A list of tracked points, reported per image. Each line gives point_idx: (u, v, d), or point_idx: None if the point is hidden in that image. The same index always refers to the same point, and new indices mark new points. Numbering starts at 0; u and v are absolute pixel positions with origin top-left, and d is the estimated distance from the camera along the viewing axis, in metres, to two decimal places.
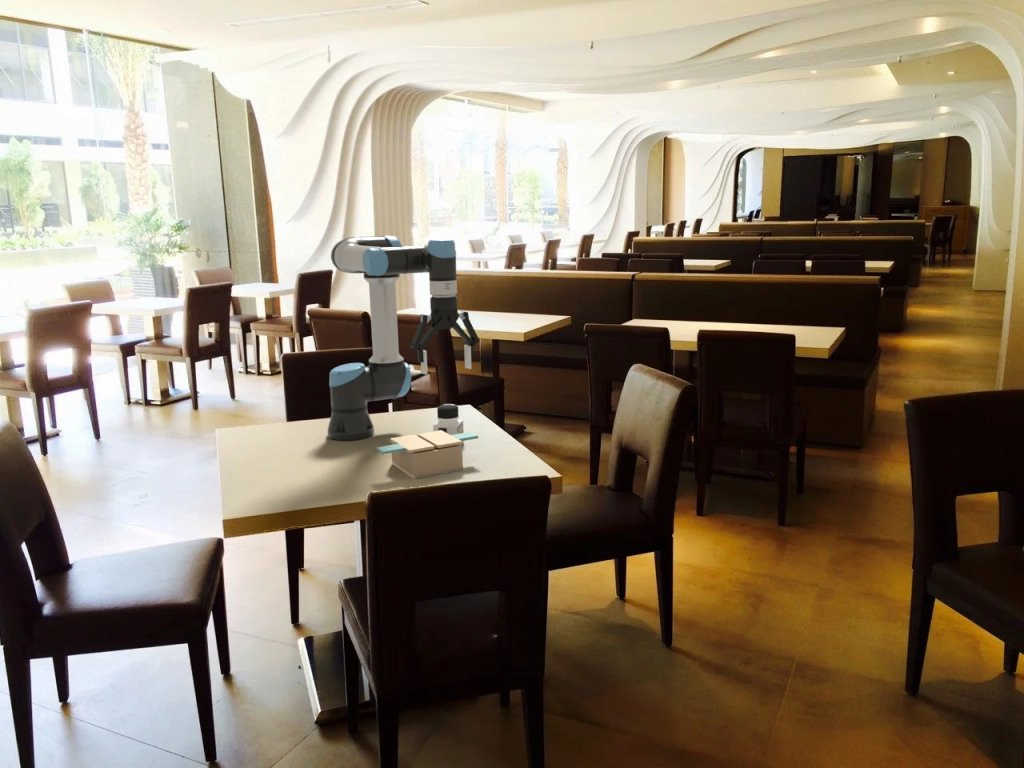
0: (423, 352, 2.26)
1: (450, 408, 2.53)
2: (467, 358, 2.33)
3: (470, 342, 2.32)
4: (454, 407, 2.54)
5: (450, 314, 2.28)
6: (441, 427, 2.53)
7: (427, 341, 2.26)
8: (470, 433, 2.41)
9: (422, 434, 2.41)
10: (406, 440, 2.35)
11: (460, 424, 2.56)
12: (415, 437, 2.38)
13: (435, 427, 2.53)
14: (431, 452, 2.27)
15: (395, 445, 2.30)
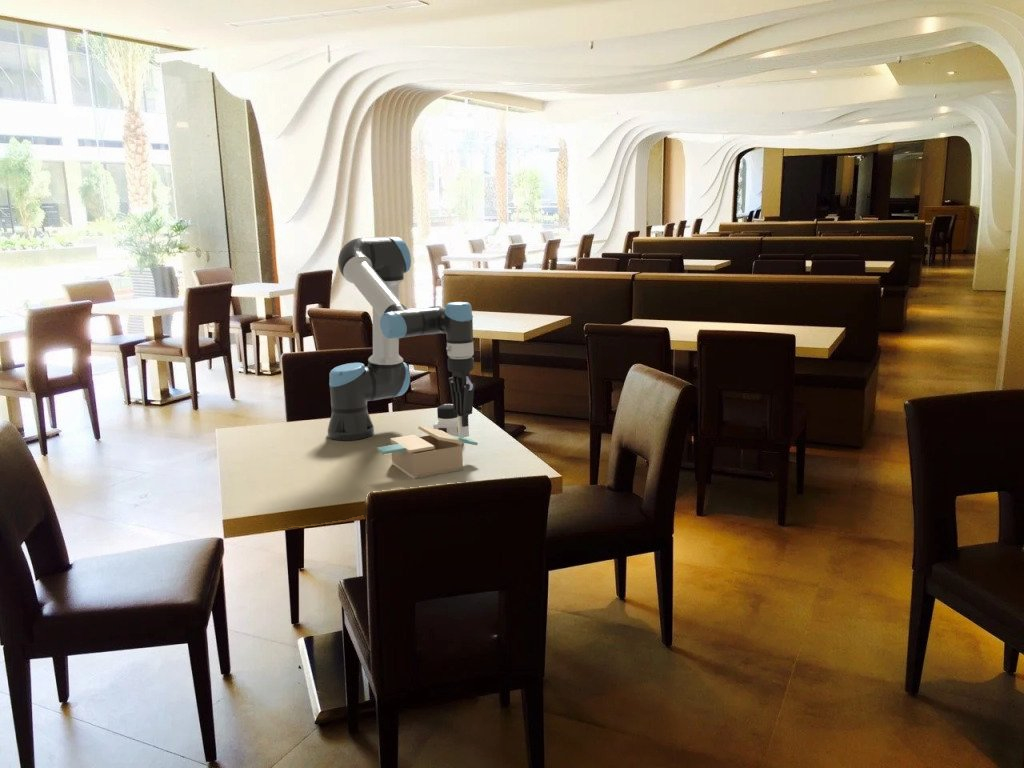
0: None
1: (450, 408, 2.53)
2: None
3: (460, 411, 2.35)
4: None
5: (460, 372, 2.32)
6: (441, 427, 2.53)
7: (456, 403, 2.37)
8: (470, 439, 2.41)
9: (423, 427, 2.41)
10: (406, 440, 2.35)
11: None
12: (415, 437, 2.38)
13: (435, 427, 2.53)
14: (431, 452, 2.27)
15: (395, 445, 2.30)
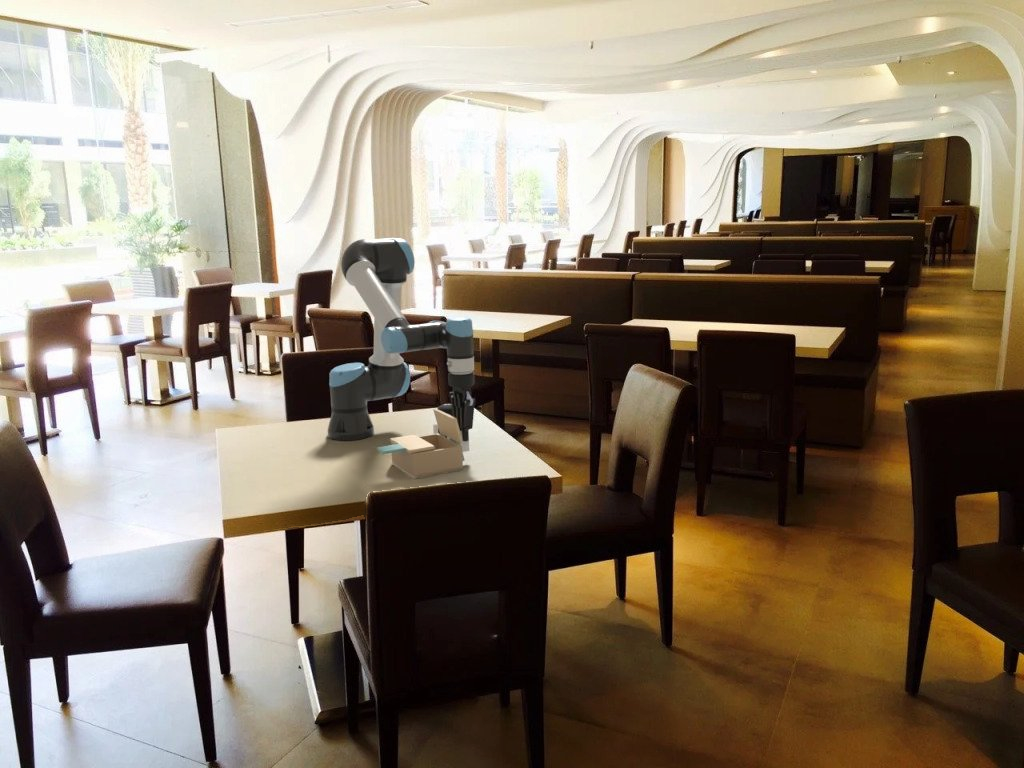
0: None
1: (450, 408, 2.53)
2: None
3: (461, 426, 2.36)
4: None
5: (461, 388, 2.33)
6: None
7: (457, 418, 2.38)
8: None
9: None
10: (406, 440, 2.35)
11: None
12: (415, 437, 2.38)
13: (435, 427, 2.53)
14: (431, 452, 2.27)
15: (395, 445, 2.30)
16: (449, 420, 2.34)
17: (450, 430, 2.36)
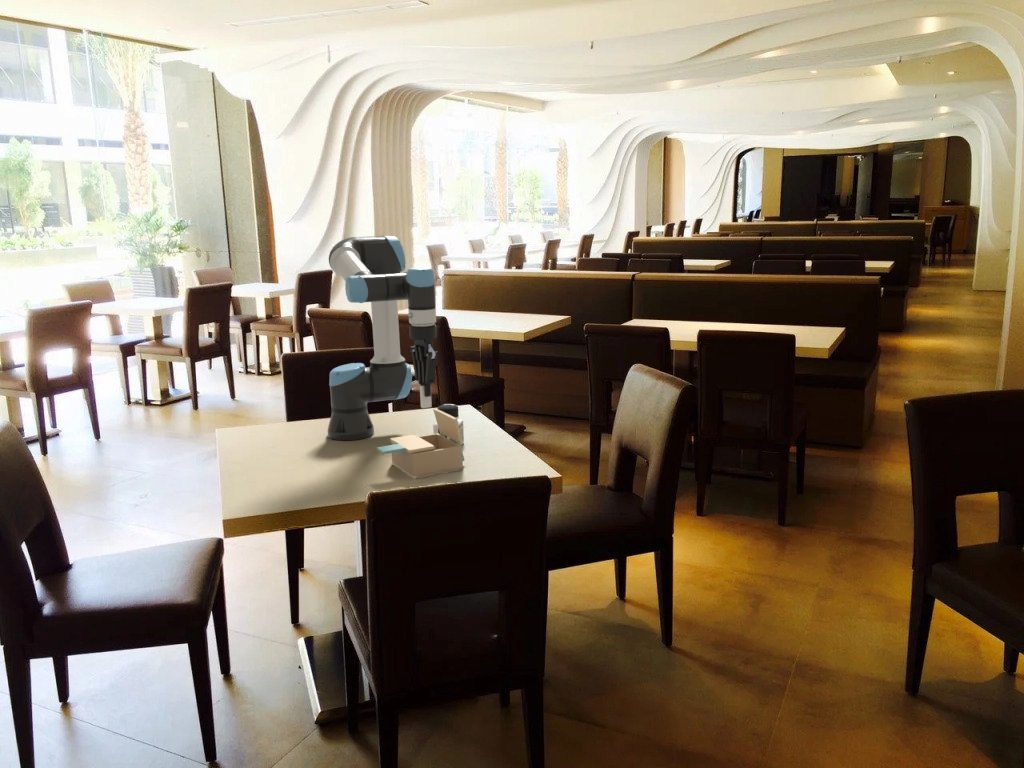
0: None
1: (450, 408, 2.53)
2: None
3: (422, 381, 2.28)
4: (454, 407, 2.54)
5: (422, 340, 2.25)
6: None
7: (419, 372, 2.30)
8: None
9: None
10: (406, 440, 2.35)
11: (460, 424, 2.56)
12: (415, 437, 2.38)
13: (435, 427, 2.53)
14: (431, 452, 2.27)
15: (395, 445, 2.30)
16: (449, 420, 2.34)
17: (450, 430, 2.36)
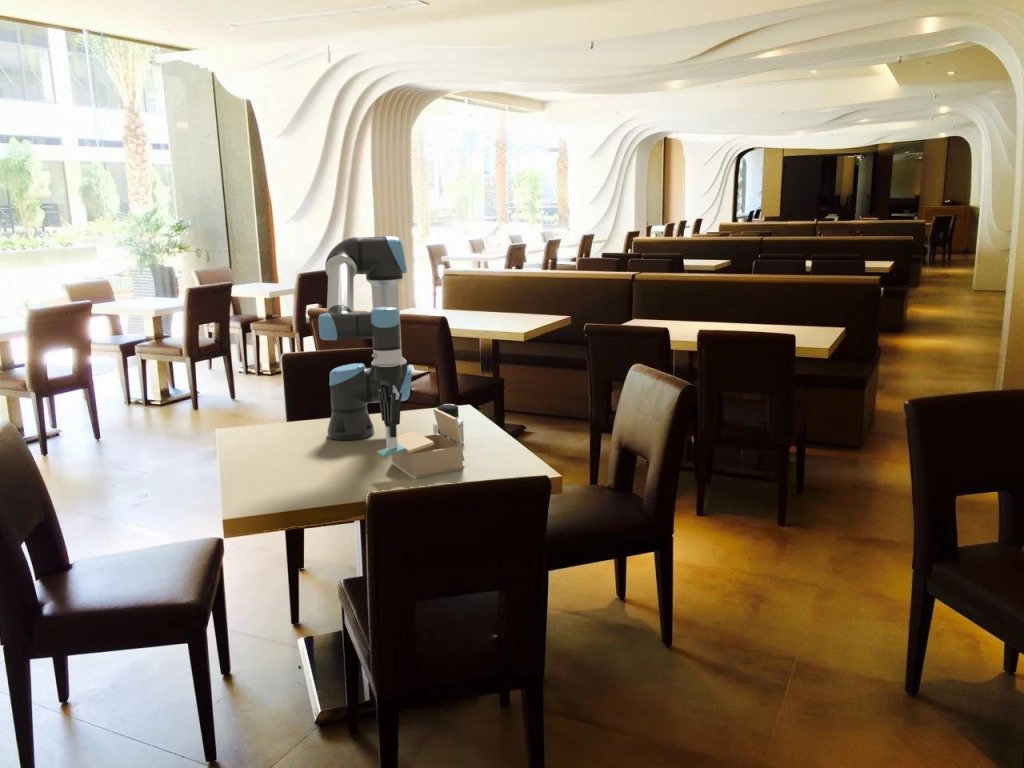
0: None
1: (450, 408, 2.53)
2: None
3: (388, 421, 2.25)
4: (454, 407, 2.54)
5: (387, 381, 2.22)
6: None
7: (384, 413, 2.26)
8: None
9: None
10: (406, 438, 2.35)
11: (460, 424, 2.56)
12: (415, 433, 2.37)
13: (435, 427, 2.53)
14: (431, 452, 2.27)
15: None
16: (449, 420, 2.34)
17: (450, 430, 2.36)
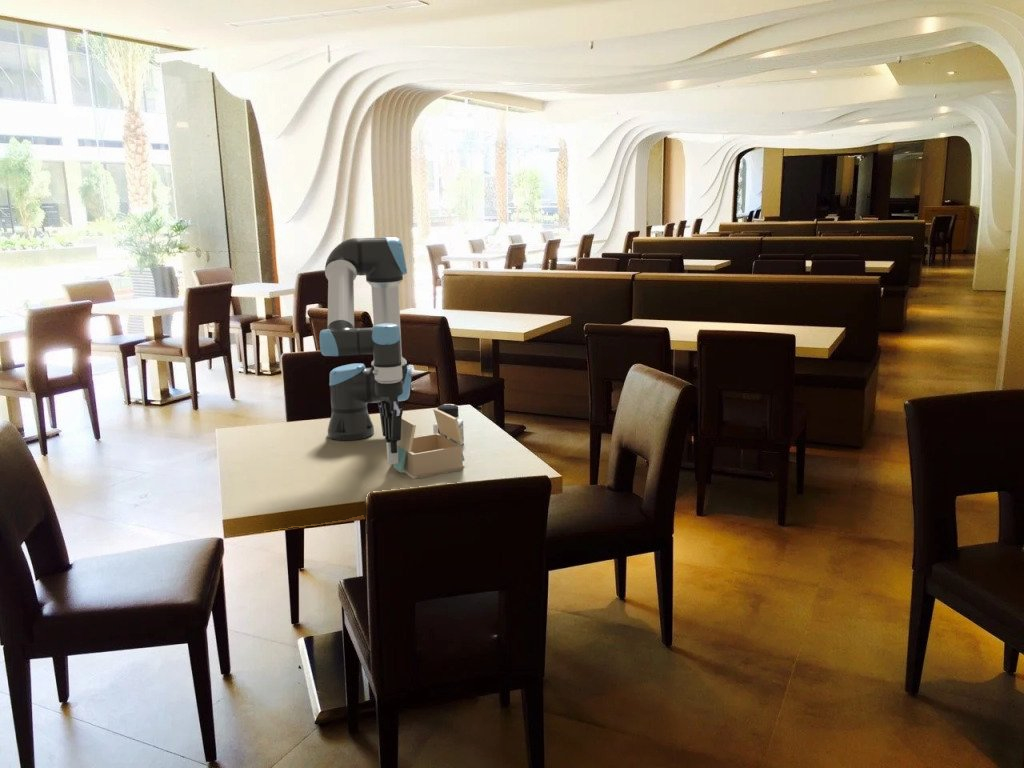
0: None
1: (450, 408, 2.53)
2: None
3: (388, 437, 2.26)
4: (454, 407, 2.54)
5: (388, 397, 2.23)
6: None
7: (385, 429, 2.27)
8: None
9: None
10: None
11: (460, 424, 2.56)
12: None
13: (435, 427, 2.53)
14: (431, 452, 2.27)
15: (398, 451, 2.31)
16: (449, 420, 2.34)
17: (450, 430, 2.36)
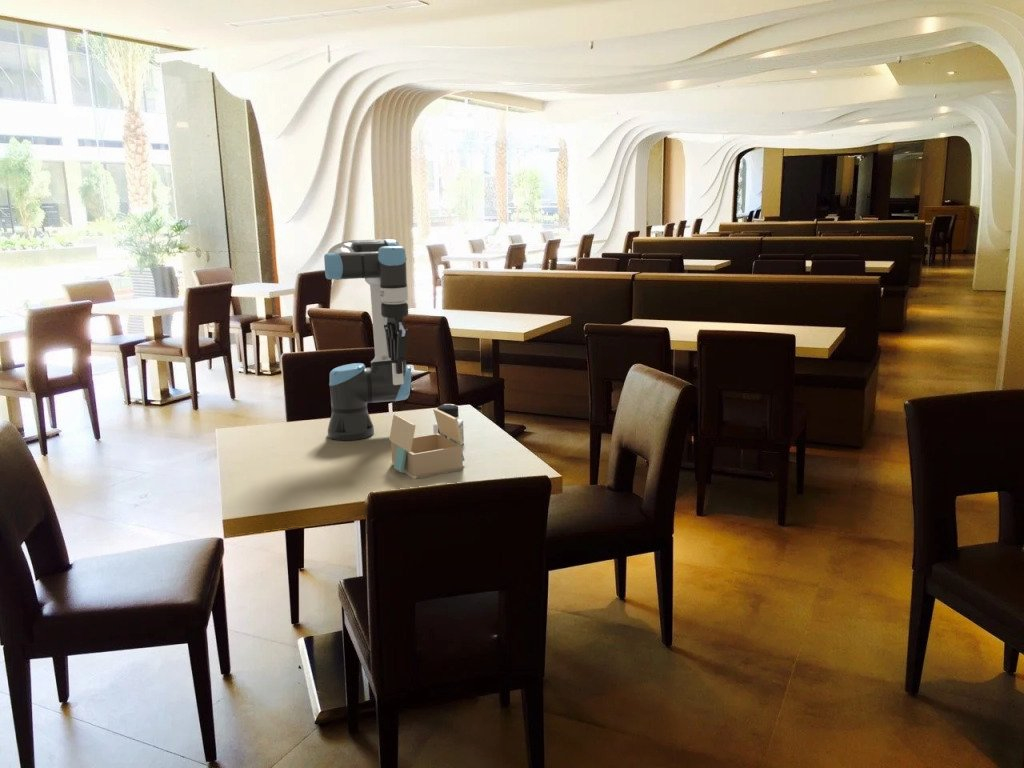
0: None
1: (450, 408, 2.53)
2: None
3: (394, 358, 2.32)
4: (454, 407, 2.54)
5: (394, 318, 2.28)
6: None
7: (391, 350, 2.33)
8: None
9: None
10: (397, 432, 2.33)
11: (460, 424, 2.56)
12: (397, 419, 2.34)
13: (435, 427, 2.53)
14: (431, 452, 2.27)
15: (398, 451, 2.31)
16: (449, 420, 2.34)
17: (450, 430, 2.36)
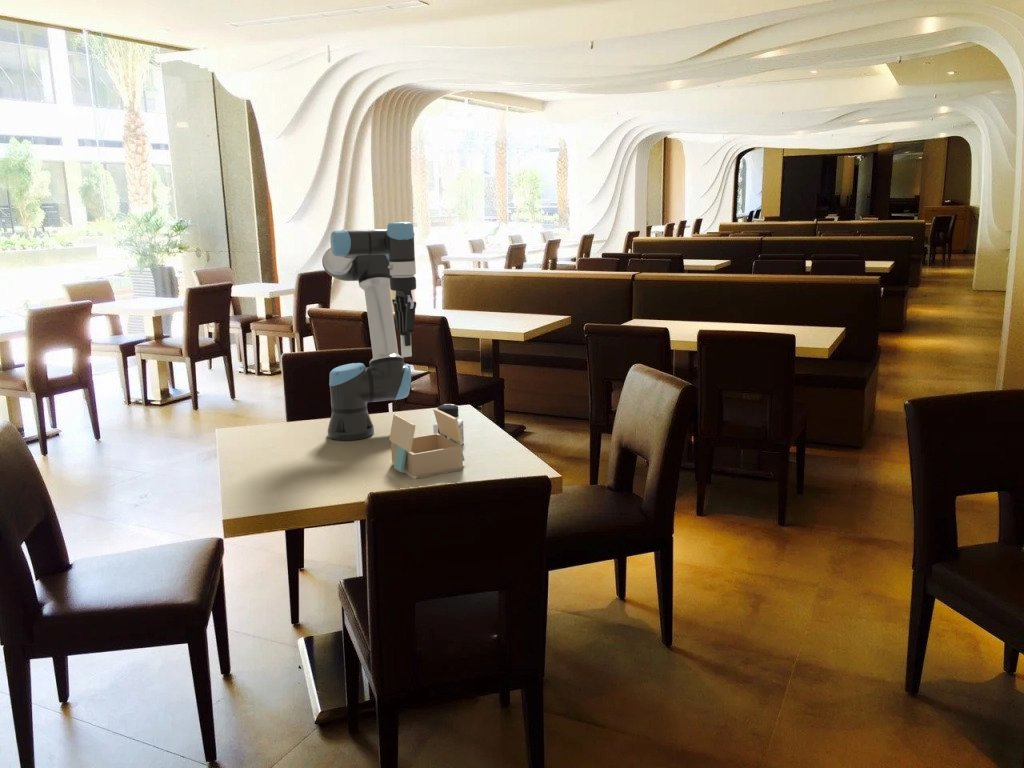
0: None
1: (450, 408, 2.53)
2: None
3: (403, 331, 2.39)
4: (454, 407, 2.54)
5: (402, 291, 2.36)
6: None
7: (399, 323, 2.41)
8: None
9: None
10: (397, 432, 2.33)
11: (460, 424, 2.56)
12: (397, 419, 2.34)
13: (435, 427, 2.53)
14: (431, 452, 2.27)
15: (398, 451, 2.31)
16: (449, 420, 2.34)
17: (450, 430, 2.36)
